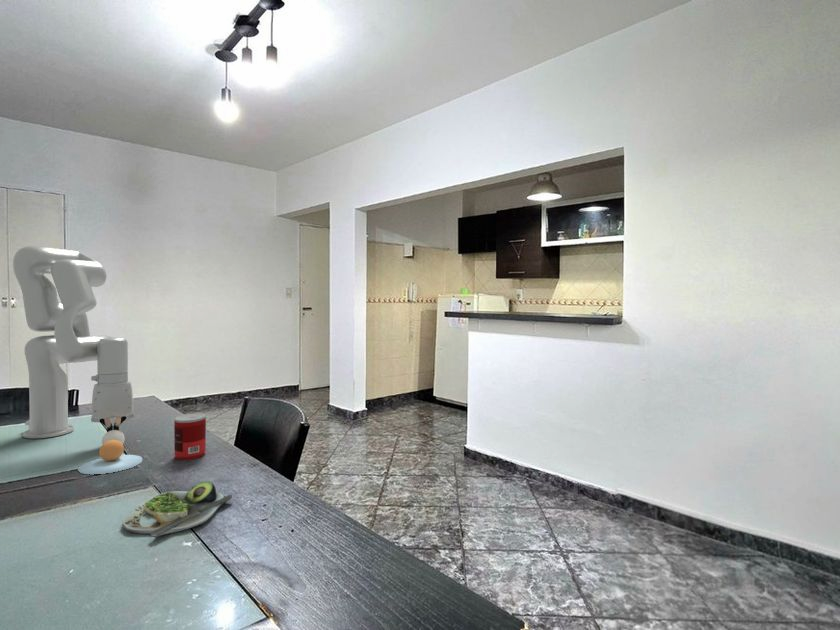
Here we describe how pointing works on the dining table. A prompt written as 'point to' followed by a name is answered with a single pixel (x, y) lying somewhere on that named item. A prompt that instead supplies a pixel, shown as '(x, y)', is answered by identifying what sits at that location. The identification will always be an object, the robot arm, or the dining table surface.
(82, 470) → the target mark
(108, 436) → the white egg
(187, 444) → the canned food
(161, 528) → the avocado toast plate
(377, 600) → the dining table surface
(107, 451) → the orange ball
